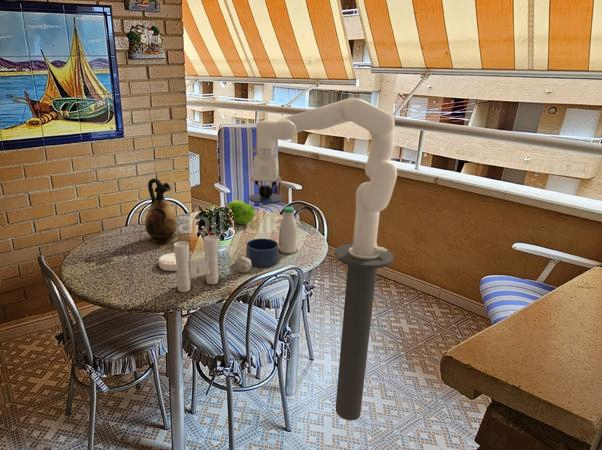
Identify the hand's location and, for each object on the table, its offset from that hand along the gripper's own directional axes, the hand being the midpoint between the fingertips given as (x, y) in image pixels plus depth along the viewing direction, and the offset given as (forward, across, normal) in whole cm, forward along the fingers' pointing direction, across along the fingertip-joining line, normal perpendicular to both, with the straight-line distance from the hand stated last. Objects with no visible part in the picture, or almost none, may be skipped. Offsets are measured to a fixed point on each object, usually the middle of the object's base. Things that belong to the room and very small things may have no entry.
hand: (265, 196), depth 170 cm
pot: (+27, 0, -6) cm, 27 cm away
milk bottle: (+27, +8, +8) cm, 30 cm away
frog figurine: (+27, -4, -18) cm, 33 cm away
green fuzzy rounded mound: (+27, -25, +39) cm, 54 cm away
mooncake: (+27, -34, -21) cm, 48 cm away
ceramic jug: (+27, -54, +4) cm, 60 cm away
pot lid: (+1, 0, 0) cm, 1 cm away
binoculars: (+27, -17, -34) cm, 47 cm away
